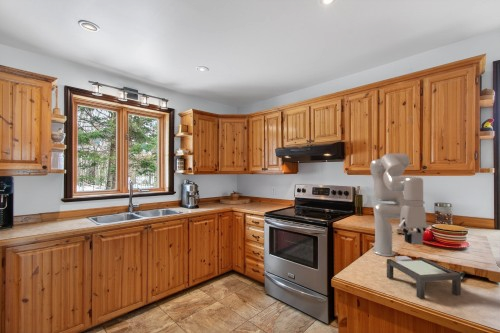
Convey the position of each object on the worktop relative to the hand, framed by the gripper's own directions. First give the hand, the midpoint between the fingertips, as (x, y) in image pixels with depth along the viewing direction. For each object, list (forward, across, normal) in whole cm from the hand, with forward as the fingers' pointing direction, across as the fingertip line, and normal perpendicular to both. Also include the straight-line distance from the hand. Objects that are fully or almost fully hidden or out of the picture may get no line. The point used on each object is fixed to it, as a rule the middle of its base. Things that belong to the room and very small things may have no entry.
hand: (413, 241), depth 110 cm
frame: (+20, -2, +2) cm, 20 cm away
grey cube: (+1, 0, 0) cm, 1 cm away
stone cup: (+19, -61, -77) cm, 100 cm away
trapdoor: (+13, -2, -1) cm, 13 cm away
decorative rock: (+20, -27, -9) cm, 35 cm away
